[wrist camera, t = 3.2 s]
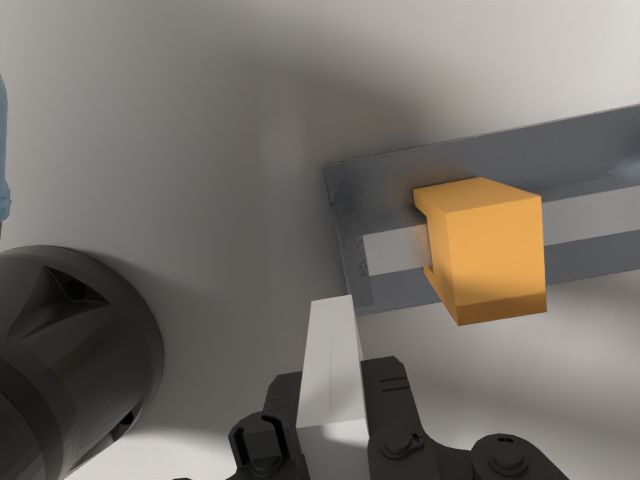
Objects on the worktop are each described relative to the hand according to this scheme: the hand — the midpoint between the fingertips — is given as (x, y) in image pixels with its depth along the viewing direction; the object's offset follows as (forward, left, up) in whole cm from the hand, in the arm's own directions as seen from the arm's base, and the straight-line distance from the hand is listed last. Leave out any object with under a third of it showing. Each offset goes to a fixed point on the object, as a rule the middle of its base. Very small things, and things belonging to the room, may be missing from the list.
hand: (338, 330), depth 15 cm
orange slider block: (+7, 0, -10) cm, 13 cm away
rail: (+12, 0, -12) cm, 17 cm away
